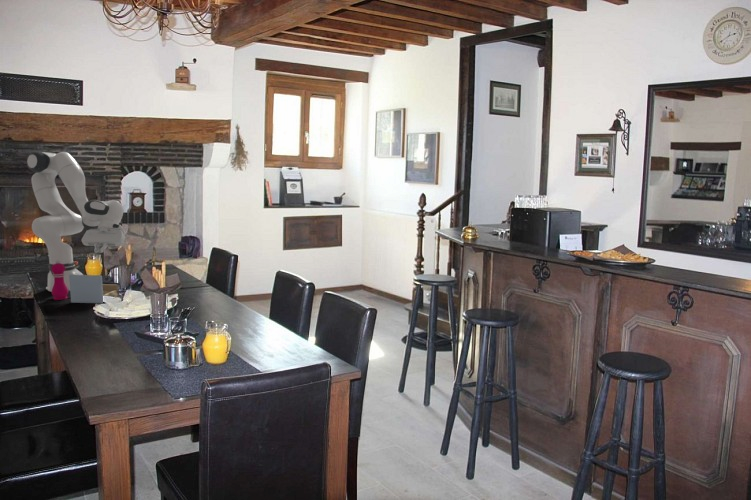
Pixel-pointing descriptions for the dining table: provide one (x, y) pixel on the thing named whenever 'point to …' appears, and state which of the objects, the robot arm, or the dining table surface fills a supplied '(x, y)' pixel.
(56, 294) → the pepper mill
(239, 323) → the dining table surface
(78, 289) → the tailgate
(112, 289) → the tray
